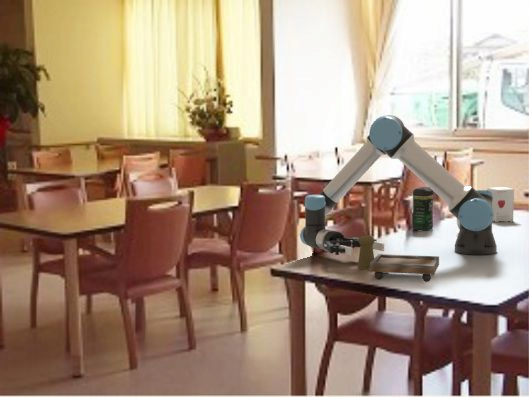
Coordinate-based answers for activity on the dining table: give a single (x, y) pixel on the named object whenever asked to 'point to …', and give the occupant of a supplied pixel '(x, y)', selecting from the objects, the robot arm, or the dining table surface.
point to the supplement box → (502, 203)
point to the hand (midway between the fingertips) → (368, 249)
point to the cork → (365, 251)
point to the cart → (404, 265)
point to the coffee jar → (422, 208)
